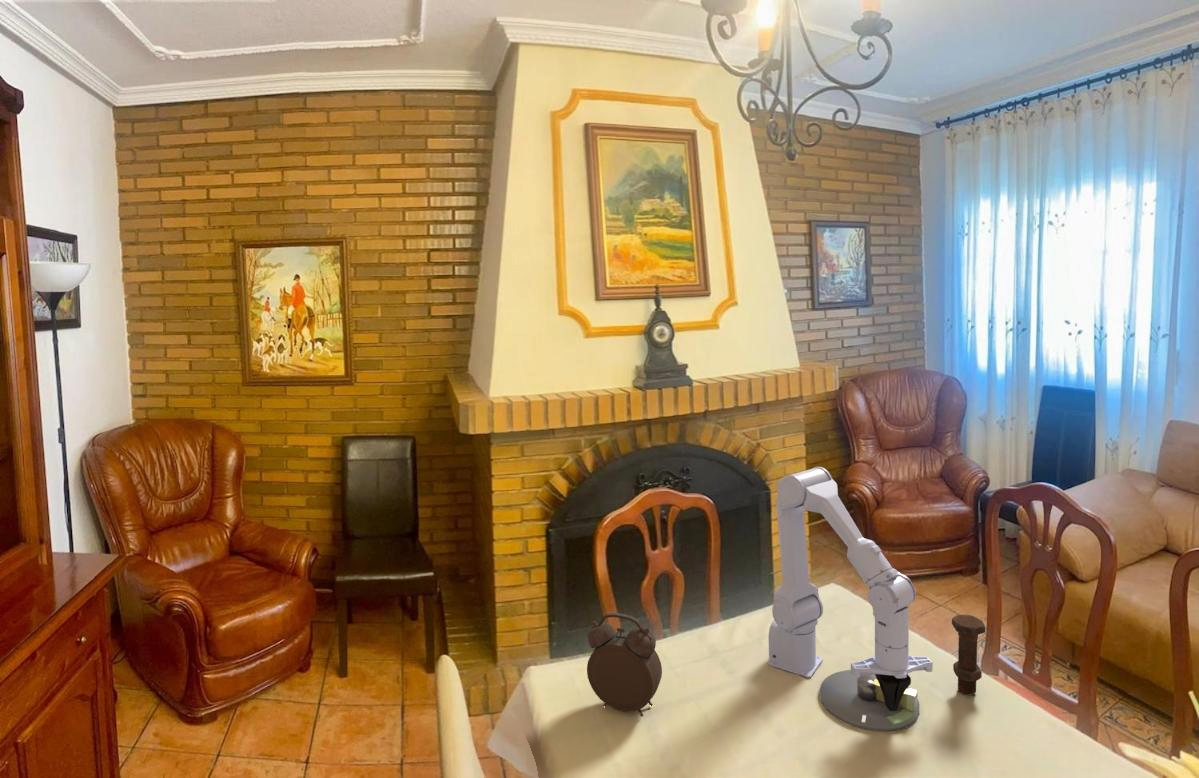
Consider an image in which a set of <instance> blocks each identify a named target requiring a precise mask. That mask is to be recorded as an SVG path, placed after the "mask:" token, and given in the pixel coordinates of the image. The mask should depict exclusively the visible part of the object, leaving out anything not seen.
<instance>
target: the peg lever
mask: <svg viewBox="0 0 1199 778" xmlns="http://www.w3.org/2000/svg"><path fill="white" fill-rule="evenodd" d="M857 694H858V696H859V697H860V698H862V699H864V700H866V701H876V700H880V701H883V702H885V700H884V696H883V693H882V690H881V687H880V684H879V682H878V680H877V678H876V677H874V676H871V675H861V677H860V678H857ZM917 699H918V690H917V689H914V688H910V687H909V689H906V690H905V692H904V694H903V695H902V698H901V700H900V703H899V707H902V708H905V709H907V710H910V711H913V712H915V710H916V708H917Z"/></svg>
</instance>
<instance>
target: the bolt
mask: <svg viewBox="0 0 1199 778" xmlns="http://www.w3.org/2000/svg"><path fill="white" fill-rule="evenodd" d="M951 625H952V626H953V628H954V630H955V632H957V635H958V643H957V644H958V650H957V652H958V654H957V661H955V662H954V663H953V664H952V667H953V668H952V669H953V672H954V675H955V676H956V677H957V690H958V691H959V693H961V694H962V693H963V694H962V695H965V694H972V695H974V694H976V693H977V681H979V680H980V679H981V678H982V677H983V676H982V675H983V674H982V670H981V667H980V666H979V665H978V639H979V635H981V634H985V633H986V625H985V623H984V622H983V620H982V619H980V618H978V617H977V616H973V615H970V614H956V615H954V616H953V617H952V618H951Z"/></svg>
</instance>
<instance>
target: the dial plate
mask: <svg viewBox="0 0 1199 778" xmlns="http://www.w3.org/2000/svg"><path fill="white" fill-rule="evenodd" d="M871 676H874V677H876V676H875V674H873V675H871ZM909 688H910V686H908V688H907V689H909ZM819 697H820V700H821V704H822V705H823V707H824V708H825V709H826V711H828V713H829V714H831V715H832V716H833V717H835V718H836V719H838V720H839V721H841V722H843V723H845V724H847V725H850V726H852V727H856V728H858V729H862V730H866V731H873V732H884V733H885V732H895V731H900V730H904V729H906V728H908V727H910V726H912V725H913V724H914V723H915V722H916V721H917V720H918V718H919V715H920V702H919V699H918V698H917V708H916V710H915V712H913V711H910V710H907V709H905V708H902V707H899V706H898V710H897V711H889V709H888V708H887V707H886V705H885V702H883V701H880V700H876V701H866V700H864V699H862V698H860V697H859V696H858V694H857V678H855V677H854V676H853V674H852V673H851V669H846V670H840V671H838V672H834V673H831V674H830V675H828V676H827V677H826V678H824V680H823V681H822V682H821V683H820V687H819Z"/></svg>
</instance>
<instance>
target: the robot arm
mask: <svg viewBox="0 0 1199 778" xmlns="http://www.w3.org/2000/svg"><path fill="white" fill-rule="evenodd" d="M776 490H777V491H776V492H777V495H776V496H777V497H776V500H775V505H776V507H775V508H776V518H777V519H776V520H777V529H778V530H777V531H778V540H779V541H778V542H779V553H780V565H781V574H782V577H781V578H782V581H781V582H782V583H781V584H780V585H779V587H778V588H777V589H776V591H775V592H774V594H773V605H772V608H771V613H772V619H773V620H772V622H771V623H770V626H769V631H768V661H767V665H768V666H771V667H774V668H776V669H777V668H778V669H780V670H783V671H787V672H790V673H793V674H796V675H798V676H802V677H806V678H808V679H809V678H811V677H812V676H813V674H814V673H815V672H816V671H817V669H818V668H819V667H820V665H821V664H822V662H823V661H824V659H823V657H820V656H817V647H816V646H817V644H816V638H817V637H816V634H817V633H816V632H817V631H816V626H817V625H818V620H819V619H820V618H822V616H823V613H824V606H823V605H824V604H823V602H822V599H821V597H820V594H819V587H817V586H816V585H814V584H813V583H812V582H810V572H809V561H808V550H807V537H806V524H805V514H804V512H805V511H808V512H812V513H817V514H821V515H822V517H824V519H825V520H826V522H827V523H828V524H829V525H830V526H831V528H832V529H833V530H834V532H835V533H836V534H837V535H838V536H839V538H840V539H841V540H842V542H843V543H844V544H845V545H846V547H847V553H846V555H847V556H846V557H847V559H848V560H849V562H850V563H851V565H852V566H853V567H854V569H855V571H856V572H857V574H858V575H859V576H860V578H861V579H862V581H863V582H864V584H865V585H866V587H867V588H868V590H869V591H868V592H867V593H866V595H867V599H868V602H869V605H870V606H871V607H872V616H873V618H874V656H871V657H868V658H865V659H862V660H860V661H854V662H850V670H851V673H852V674H853V676H854V677H855V678H860V677H861V675H873V674H875V676H876V678H877V680H878V682H879V684H880V687H881V690H882V693H883V696H884V700H885V705H886V707H887V708H888V709H889V711H897V710H898V706H899V703H900V700H901V698H902V695H903V694H904V692H905V690H906V689H907V688H908V687H910V685H911V684H912V677H911V676H910V675H909V673H913V672H916V671H925V672H927V673H931V672H933V661H932V660H931V659H930V658H929V657H928V656H917V655H916V656H915V655H909V652H910V651H909V649H910V648H909V646H910V645H909V643H910V642H909V638H910V637H909V636H910V631H909V630H910V629H909V628H910V625H909V624H910V622H909V621H910V619H909V618H910V613H909V612H910V607H909V606H910V605H912V604H913V603H914V602H915V600H916V597H917V596H916V595H917V594H916V593H917V592H916V588H915V586H914V584H913V583H912V580H911V579H910V578H909V577H908V576H907V575H904V574H903V573H900V572H899V571H898V569H895V568H893V567H892V565H891V564H890V562H889V561H888V559H887V558H886V557H885V555H884V553H882V549H881V548H880V546H879V545H877V544H876V542H875V541H874V540H872V539H868V538H864V537H863V535H862V533H861V531H860V530H859V527H858V526H857V525H856V523H855V522H854V519H853V518H852V516H851V515H850V512H848V510H847V508H846V507H845V505H844V503H843V502H842V500H841V498H840V497H839V494H838V491H839V490H838V484H837V482H836V481H835V480H834V479H833V477H832V475H831V473H830V472H829V471H828V469H826V468H824V467H822V466H814V467H813V468H811V469H810V468H809V469H807V470H804V471H799V472H796V473H793V474H792V473H791V474H787V475H784V476H782V478H780V479H779V480H778V481H777V482H776Z"/></svg>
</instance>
